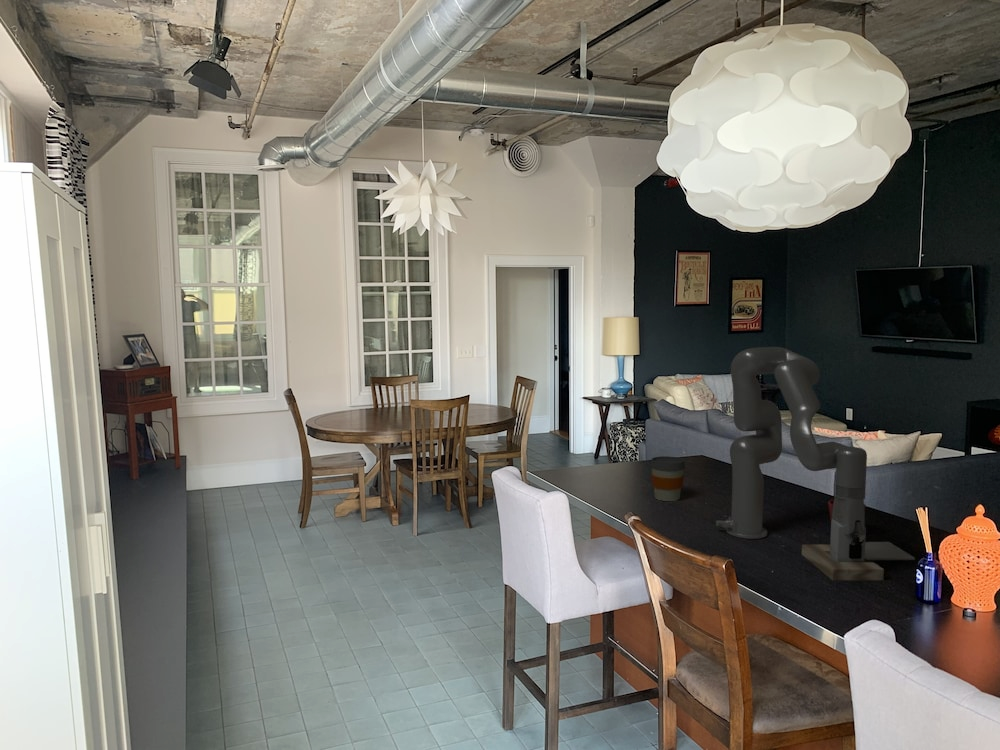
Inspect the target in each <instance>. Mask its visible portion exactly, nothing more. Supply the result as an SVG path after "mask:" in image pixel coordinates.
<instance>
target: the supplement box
mask: <svg viewBox="0 0 1000 750" xmlns="http://www.w3.org/2000/svg"><path fill="white" fill-rule="evenodd" d="M830 523H831V524H830V541H829V543H830V556H831V557H833V558H834V559H835V560H836V561H838V562H866V560H865V542H866V537H867V536H865V538H864V542H863V545H862V556H861V559H850V558H849V544H851V541H850V535H845V534H844V526H842V525H841V524H840V523H837V522H836V521H834V520H833V519H832V520H831V519H830ZM864 531H865V533H866V534H867V527H866V526H865V525H864ZM853 533H858V532H857V529H856V527H855V529H854V531H853ZM853 537H854V540H855V538H856V537H858V536H853Z"/></svg>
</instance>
